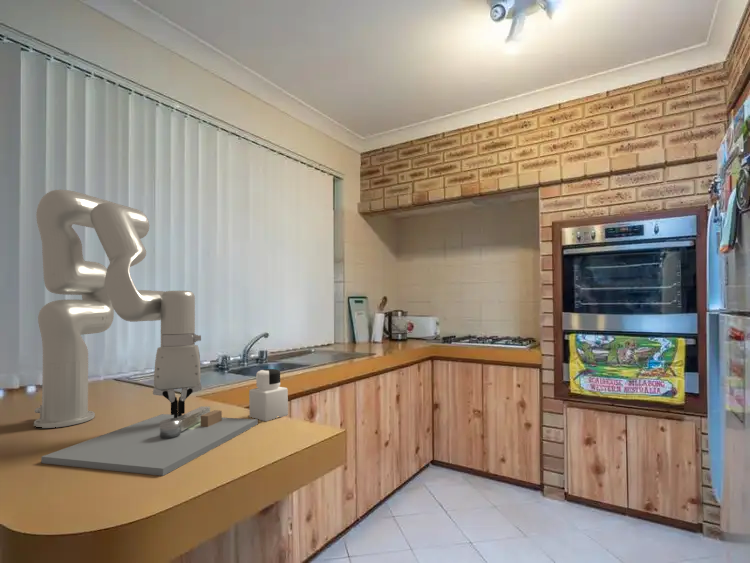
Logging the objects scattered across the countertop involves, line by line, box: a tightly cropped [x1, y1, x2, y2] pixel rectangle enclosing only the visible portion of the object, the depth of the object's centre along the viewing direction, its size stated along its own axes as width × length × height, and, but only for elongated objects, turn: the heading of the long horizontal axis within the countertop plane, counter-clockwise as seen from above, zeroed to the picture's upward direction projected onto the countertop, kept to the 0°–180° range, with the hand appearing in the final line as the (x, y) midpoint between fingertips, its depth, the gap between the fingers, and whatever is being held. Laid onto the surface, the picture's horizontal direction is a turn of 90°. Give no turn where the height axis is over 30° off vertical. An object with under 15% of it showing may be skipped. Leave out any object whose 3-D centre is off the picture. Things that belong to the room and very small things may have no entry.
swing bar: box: [160, 406, 211, 438], centre depth 94 cm, size 16×4×3 cm, turn 172°
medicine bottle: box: [248, 368, 289, 422], centre depth 106 cm, size 7×7×12 cm
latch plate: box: [40, 409, 259, 477], centre depth 89 cm, size 28×30×4 cm
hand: (177, 417), depth 99 cm, fingers closed
